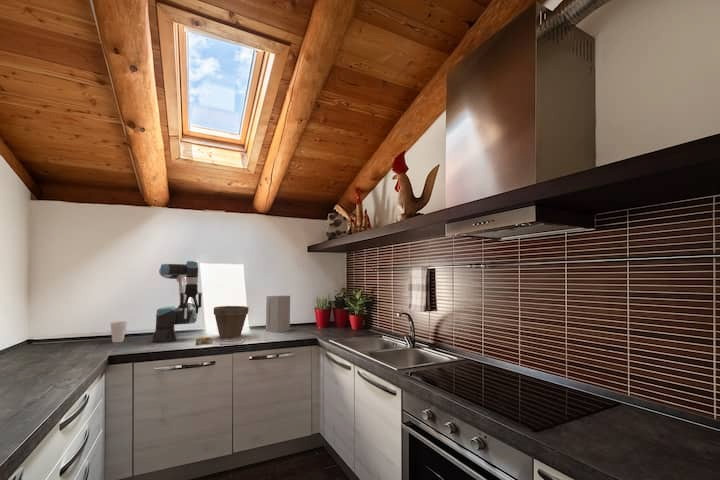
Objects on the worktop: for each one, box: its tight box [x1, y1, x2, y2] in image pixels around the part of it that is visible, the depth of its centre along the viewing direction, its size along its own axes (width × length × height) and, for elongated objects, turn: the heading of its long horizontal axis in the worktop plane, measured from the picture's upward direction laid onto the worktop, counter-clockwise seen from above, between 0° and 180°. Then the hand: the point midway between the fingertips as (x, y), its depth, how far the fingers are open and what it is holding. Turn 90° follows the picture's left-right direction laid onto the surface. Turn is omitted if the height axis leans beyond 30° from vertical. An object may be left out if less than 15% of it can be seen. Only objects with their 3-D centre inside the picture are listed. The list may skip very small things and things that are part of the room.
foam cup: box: [110, 320, 128, 343], centre depth 254 cm, size 10×9×13 cm
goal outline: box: [219, 339, 246, 346], centre depth 248 cm, size 14×13×1 cm
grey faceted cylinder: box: [265, 295, 291, 334], centre depth 299 cm, size 19×15×28 cm
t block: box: [195, 336, 214, 346], centre depth 246 cm, size 9×8×4 cm
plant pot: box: [213, 305, 249, 339], centre depth 274 cm, size 25×25×22 cm
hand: (190, 318), depth 246 cm, fingers open, 6 cm apart
